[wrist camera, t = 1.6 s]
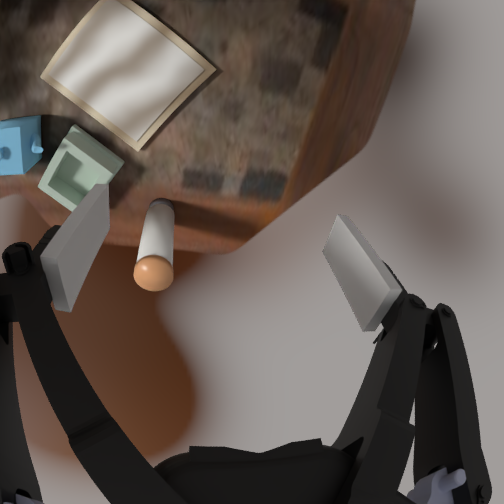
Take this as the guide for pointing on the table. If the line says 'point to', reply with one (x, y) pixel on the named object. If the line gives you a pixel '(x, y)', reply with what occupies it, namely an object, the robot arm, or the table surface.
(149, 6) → the table surface
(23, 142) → the blue pegged block
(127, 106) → the sketch pad
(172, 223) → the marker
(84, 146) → the pen stand
